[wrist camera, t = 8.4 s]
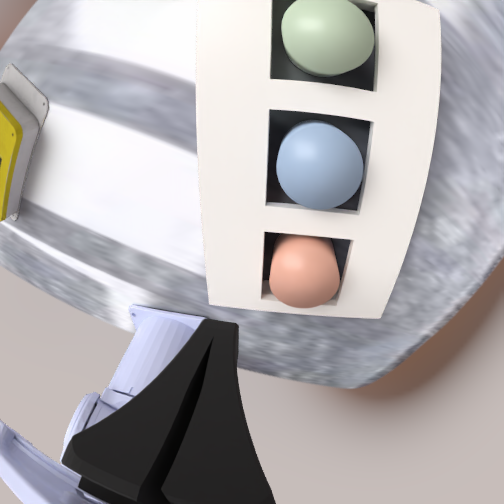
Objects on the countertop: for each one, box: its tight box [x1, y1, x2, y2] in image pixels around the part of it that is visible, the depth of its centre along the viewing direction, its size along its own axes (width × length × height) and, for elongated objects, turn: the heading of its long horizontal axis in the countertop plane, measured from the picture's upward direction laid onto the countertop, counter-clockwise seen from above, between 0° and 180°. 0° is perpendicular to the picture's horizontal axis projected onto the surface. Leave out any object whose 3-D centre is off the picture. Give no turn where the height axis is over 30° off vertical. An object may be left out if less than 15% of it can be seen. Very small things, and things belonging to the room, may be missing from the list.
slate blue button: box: [276, 120, 363, 209], centre depth 13 cm, size 4×4×3 cm
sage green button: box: [281, 0, 374, 77], centre depth 9 cm, size 4×4×3 cm
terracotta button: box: [269, 233, 340, 308], centre depth 17 cm, size 4×4×3 cm
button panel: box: [196, 0, 441, 319], centre depth 14 cm, size 20×12×3 cm, turn 179°
